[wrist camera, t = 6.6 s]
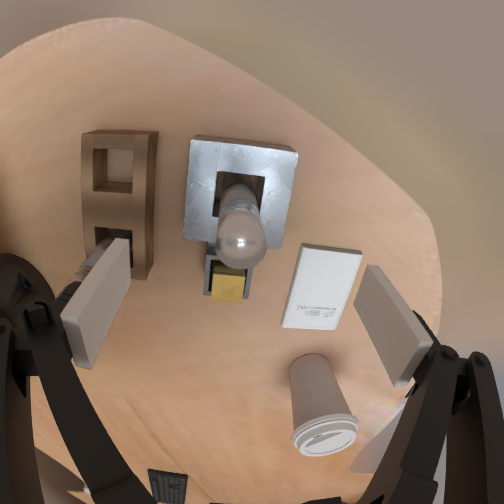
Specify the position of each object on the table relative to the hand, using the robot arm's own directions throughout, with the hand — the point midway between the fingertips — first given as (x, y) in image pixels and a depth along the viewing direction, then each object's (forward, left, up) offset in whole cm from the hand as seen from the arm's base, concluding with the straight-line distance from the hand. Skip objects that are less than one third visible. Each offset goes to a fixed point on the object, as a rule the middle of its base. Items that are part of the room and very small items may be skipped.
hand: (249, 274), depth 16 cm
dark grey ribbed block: (-12, -96, -20) cm, 99 cm away
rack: (-13, -3, -19) cm, 24 cm away
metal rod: (0, 0, -19) cm, 19 cm away
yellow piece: (0, -9, -18) cm, 20 cm away
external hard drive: (+12, -13, -20) cm, 27 cm away
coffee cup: (+15, -28, -20) cm, 37 cm away
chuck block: (0, -3, -19) cm, 20 cm away
